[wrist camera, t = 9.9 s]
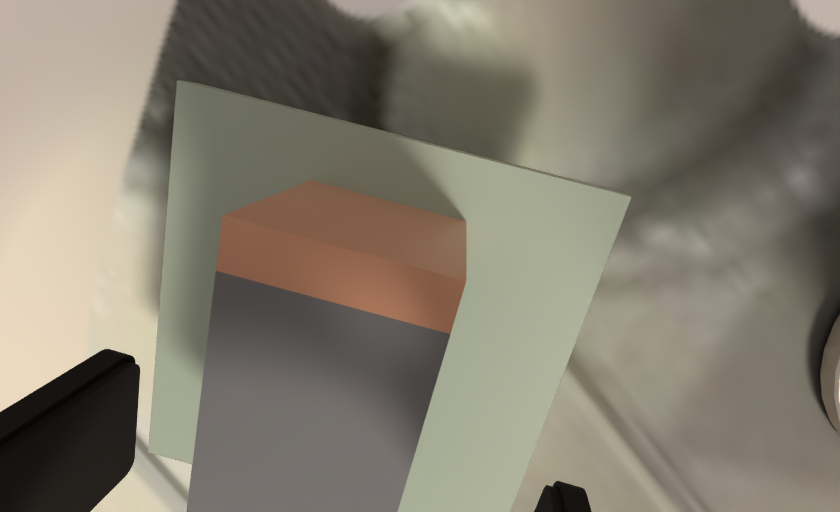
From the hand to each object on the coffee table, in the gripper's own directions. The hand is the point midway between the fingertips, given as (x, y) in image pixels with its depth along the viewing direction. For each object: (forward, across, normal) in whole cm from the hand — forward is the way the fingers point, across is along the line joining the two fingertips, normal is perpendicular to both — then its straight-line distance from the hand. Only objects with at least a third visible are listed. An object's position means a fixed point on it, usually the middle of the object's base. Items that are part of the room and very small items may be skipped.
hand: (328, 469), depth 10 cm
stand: (+11, +1, 0) cm, 11 cm away
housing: (+6, +1, 0) cm, 6 cm away
